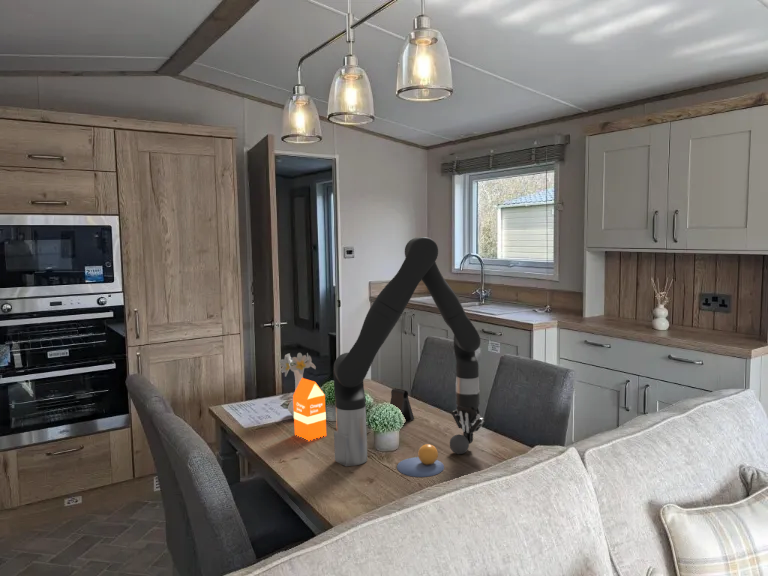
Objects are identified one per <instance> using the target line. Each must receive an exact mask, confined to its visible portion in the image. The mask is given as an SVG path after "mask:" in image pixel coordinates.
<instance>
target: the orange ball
mask: <svg viewBox="0 0 768 576" xmlns="http://www.w3.org/2000/svg"><path fill="white" fill-rule="evenodd" d="M417 457H419V460H420V461H421V462H422V463H423V464H426V465H431V464H433V463H434V462H435V461H436V460H438V457H439V452H438V450H437V448H436V446H434V445H433V444H429V443H426V444H423V445H422V446H420V448H419V449H418V451H417Z"/></svg>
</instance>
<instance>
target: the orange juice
mask: <svg viewBox="0 0 768 576" xmlns="http://www.w3.org/2000/svg"><path fill="white" fill-rule="evenodd" d="M292 400H293V404H294V417H293V420H294V421H293V425H294V426H293V427H294V435H295V436H296V435H297V436H296V437H298V436H299V437H298V438H300V437H302V438H304V439H306V440H308V441H307V442H311V441H314V440H313V439H315V440H317V439H316V438H318V439H321V438H324V437H327V413H326V394H325V393H324V392H323V390H322V389H321V388H320V386H319V385H318V384H317V382H316V381H314V380H310V379H307V378H304V377H303V378H302V379H301V381H300V383H299V385H298V387H297V389H296V391H295V390H294V392H293V395H292ZM323 436H324V437H323ZM320 437H321V438H320ZM302 438H301V439H302ZM304 439H303V440H304ZM306 440H305V441H306ZM310 440H311V441H310Z"/></svg>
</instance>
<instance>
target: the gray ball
mask: <svg viewBox="0 0 768 576" xmlns="http://www.w3.org/2000/svg"><path fill="white" fill-rule="evenodd" d="M469 447H470V444H469V442H468V440H467V438H466V437H465V436H463V434H455V435H452V437H451V438H450V440H449V448H450V449H451V451H452V452H453V453H454V454H457V455H463V454H465V453H467V451H468V450H469Z"/></svg>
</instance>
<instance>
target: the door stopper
mask: <svg viewBox="0 0 768 576" xmlns="http://www.w3.org/2000/svg"><path fill="white" fill-rule="evenodd" d="M390 395H391V398H390V401H389V405H390V404H393V405H395V406H396V407H398V408H399V409H400V410H401V412H402V414H403V415H404V417H405V419H406V422H407V423H409V422H411V420H412V421H414V420H415V417H414V413H413V409H412V407H411V402H410V400H409V392H408V390H405V389H401V388H396V387H395V388H392V389H391V392H390ZM413 419H414V420H413ZM408 421H409V422H408Z"/></svg>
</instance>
